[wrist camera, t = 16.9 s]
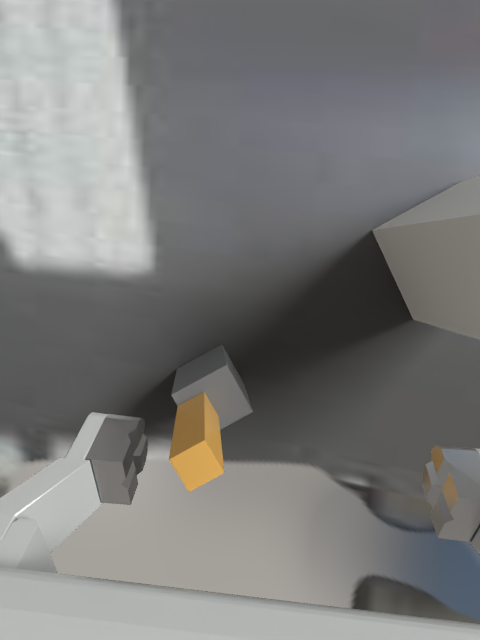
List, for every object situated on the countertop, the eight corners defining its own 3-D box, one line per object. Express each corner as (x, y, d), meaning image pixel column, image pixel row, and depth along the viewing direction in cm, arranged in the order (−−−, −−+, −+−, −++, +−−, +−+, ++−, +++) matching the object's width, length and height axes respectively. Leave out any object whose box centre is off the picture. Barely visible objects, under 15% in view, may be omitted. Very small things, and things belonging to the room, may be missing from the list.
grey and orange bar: (197, 505, 26) (270, 466, 26) (160, 444, 25) (235, 403, 25) (199, 406, 42) (243, 382, 42) (176, 368, 42) (222, 344, 42)
